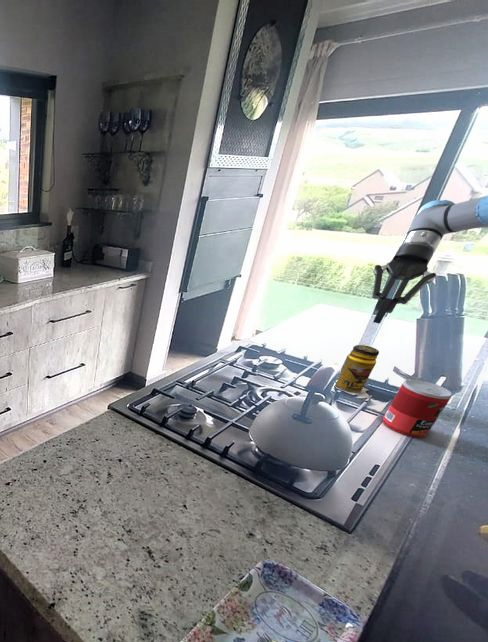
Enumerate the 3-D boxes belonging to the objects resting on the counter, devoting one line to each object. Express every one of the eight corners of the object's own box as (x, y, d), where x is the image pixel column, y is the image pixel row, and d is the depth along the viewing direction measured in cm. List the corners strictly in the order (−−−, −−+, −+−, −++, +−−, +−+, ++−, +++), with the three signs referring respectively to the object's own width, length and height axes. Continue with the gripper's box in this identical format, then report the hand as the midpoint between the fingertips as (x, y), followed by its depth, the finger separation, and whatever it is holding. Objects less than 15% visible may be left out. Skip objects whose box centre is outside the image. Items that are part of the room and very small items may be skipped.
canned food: (415, 441, 90) (442, 399, 85) (373, 422, 97) (396, 382, 91) (433, 433, 93) (460, 392, 88) (391, 415, 99) (414, 376, 94)
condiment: (353, 395, 108) (375, 355, 102) (319, 381, 115) (337, 343, 109) (368, 390, 111) (390, 350, 105) (334, 377, 117) (352, 339, 112)
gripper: (388, 239, 115) (350, 307, 113) (452, 246, 106) (413, 319, 104) (381, 255, 120) (345, 320, 118) (443, 263, 112) (405, 333, 110)
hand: (377, 320), depth 111 cm, fingers closed
